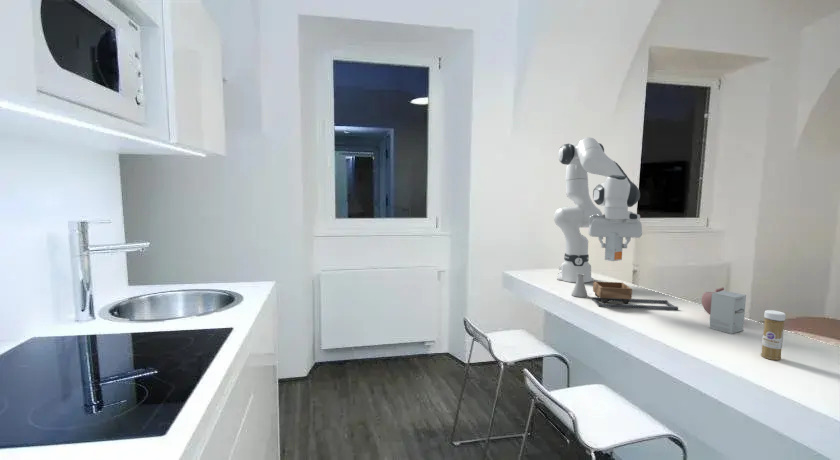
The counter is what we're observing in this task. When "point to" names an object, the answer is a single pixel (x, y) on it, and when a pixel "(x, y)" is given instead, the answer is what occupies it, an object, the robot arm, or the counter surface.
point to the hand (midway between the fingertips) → (613, 247)
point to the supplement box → (727, 311)
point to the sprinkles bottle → (773, 334)
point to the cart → (612, 291)
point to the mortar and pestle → (708, 300)
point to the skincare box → (614, 247)
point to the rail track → (669, 307)
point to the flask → (579, 287)
